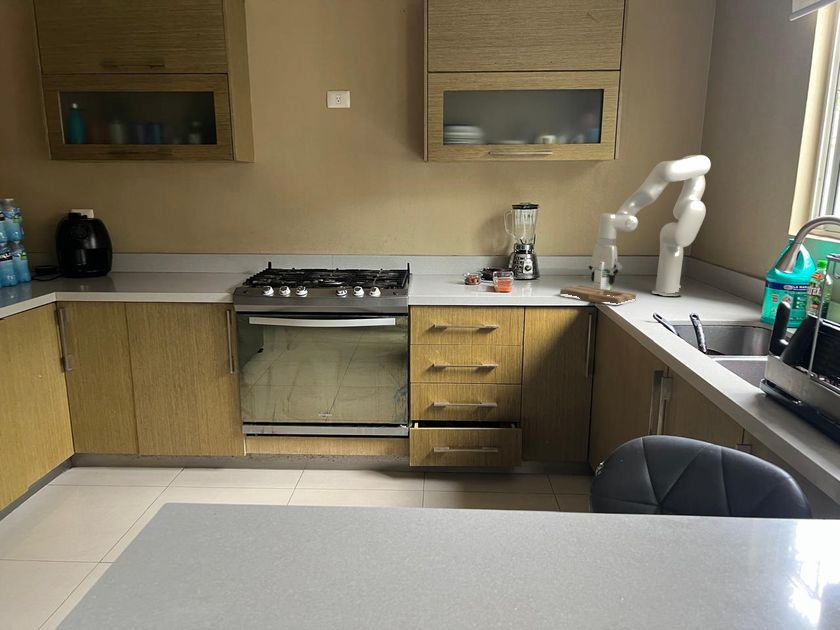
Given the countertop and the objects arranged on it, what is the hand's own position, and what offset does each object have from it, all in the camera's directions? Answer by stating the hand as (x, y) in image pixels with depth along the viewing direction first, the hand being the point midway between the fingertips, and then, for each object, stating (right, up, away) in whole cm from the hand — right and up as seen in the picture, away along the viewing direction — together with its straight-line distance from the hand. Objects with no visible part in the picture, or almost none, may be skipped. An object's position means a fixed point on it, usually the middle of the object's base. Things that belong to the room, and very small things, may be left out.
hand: (602, 282), depth 269 cm
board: (-6, -8, -11) cm, 15 cm away
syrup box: (0, -5, +1) cm, 5 cm away
